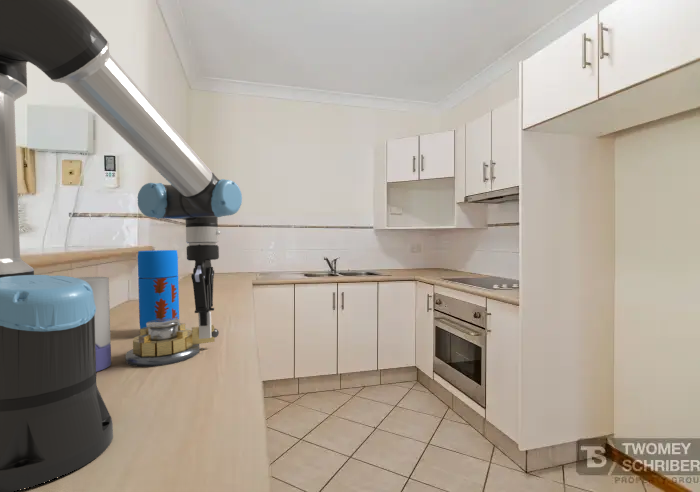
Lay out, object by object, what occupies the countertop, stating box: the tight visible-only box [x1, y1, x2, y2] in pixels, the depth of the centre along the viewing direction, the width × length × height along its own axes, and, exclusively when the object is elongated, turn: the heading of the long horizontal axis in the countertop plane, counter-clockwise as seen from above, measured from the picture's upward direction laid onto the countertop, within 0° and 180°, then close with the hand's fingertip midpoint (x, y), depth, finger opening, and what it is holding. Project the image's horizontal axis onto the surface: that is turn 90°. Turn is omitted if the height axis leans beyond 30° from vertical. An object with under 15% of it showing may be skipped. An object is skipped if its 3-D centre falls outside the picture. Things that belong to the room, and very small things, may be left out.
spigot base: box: [125, 318, 200, 368], centre depth 88 cm, size 17×16×8 cm
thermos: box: [137, 249, 180, 330], centre depth 110 cm, size 11×11×25 cm
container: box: [77, 276, 112, 373], centre depth 79 cm, size 10×10×20 cm
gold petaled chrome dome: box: [132, 322, 220, 356], centre depth 90 cm, size 19×13×4 cm
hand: (205, 337), depth 91 cm, fingers closed
